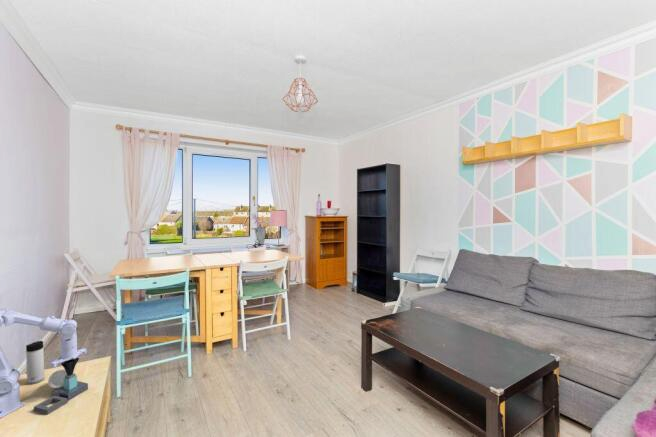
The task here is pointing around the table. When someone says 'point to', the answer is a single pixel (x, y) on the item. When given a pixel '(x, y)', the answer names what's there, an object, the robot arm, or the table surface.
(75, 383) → the plug
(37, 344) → the travel mug
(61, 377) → the clear glass jar
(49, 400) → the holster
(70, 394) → the port
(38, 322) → the robot arm
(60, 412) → the table surface
